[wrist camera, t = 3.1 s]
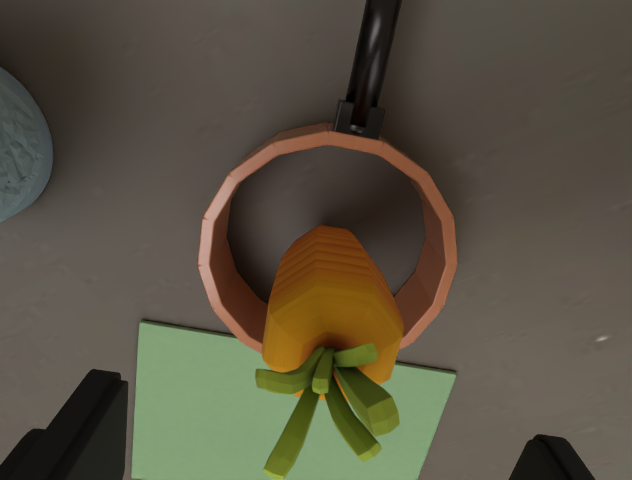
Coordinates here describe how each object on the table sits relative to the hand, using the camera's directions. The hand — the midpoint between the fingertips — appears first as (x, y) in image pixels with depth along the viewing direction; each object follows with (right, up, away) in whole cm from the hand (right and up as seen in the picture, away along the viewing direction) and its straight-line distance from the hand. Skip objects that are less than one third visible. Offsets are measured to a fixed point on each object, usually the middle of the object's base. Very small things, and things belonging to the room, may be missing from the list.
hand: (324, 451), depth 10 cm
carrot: (0, +5, +14) cm, 15 cm away
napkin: (-2, -8, +19) cm, 21 cm away
